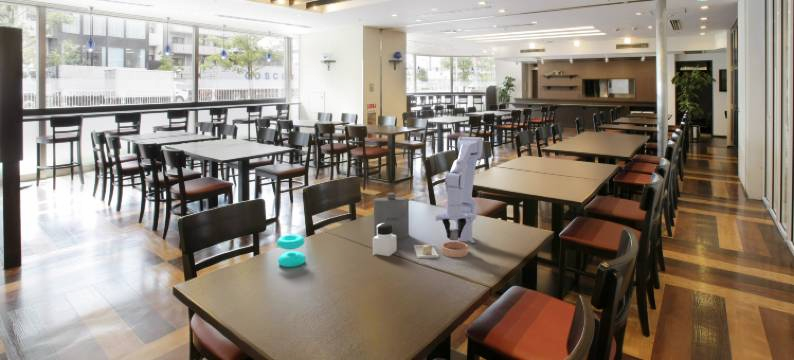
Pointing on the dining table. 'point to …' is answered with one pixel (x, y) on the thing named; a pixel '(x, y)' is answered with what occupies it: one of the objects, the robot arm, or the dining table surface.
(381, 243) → the medicine bottle
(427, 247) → the sandstone pebble
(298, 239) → the donuts
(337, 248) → the dining table surface
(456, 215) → the robot arm
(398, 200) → the flask
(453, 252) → the terracotta bowl
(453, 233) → the grey rounded short piece
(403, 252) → the dining table surface
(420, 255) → the parts tray
